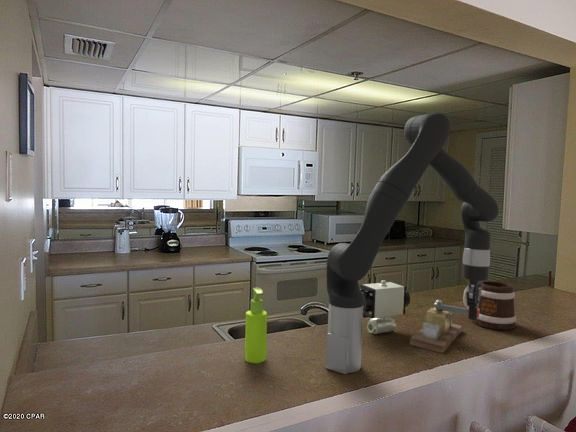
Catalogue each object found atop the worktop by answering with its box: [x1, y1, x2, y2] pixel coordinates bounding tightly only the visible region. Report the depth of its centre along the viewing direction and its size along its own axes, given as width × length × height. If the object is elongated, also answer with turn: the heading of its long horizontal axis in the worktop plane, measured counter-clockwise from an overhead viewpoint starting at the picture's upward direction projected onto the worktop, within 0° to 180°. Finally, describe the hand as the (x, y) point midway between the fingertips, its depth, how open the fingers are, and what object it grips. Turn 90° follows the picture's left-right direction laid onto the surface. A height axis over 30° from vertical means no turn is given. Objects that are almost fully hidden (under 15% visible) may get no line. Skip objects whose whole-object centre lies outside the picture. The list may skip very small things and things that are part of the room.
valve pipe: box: [422, 307, 453, 341], centre depth 133 cm, size 18×6×7 cm, turn 144°
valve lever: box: [433, 299, 480, 318], centre depth 130 cm, size 13×3×3 cm, turn 59°
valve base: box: [409, 323, 463, 354], centre depth 133 cm, size 24×10×2 cm, turn 144°
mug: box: [462, 280, 517, 331], centre depth 150 cm, size 20×15×15 cm
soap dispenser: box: [244, 287, 268, 364], centre depth 111 cm, size 6×7×20 cm
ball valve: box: [359, 279, 411, 335], centre depth 137 cm, size 18×8×18 cm, turn 115°
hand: (472, 319), depth 124 cm, fingers closed
